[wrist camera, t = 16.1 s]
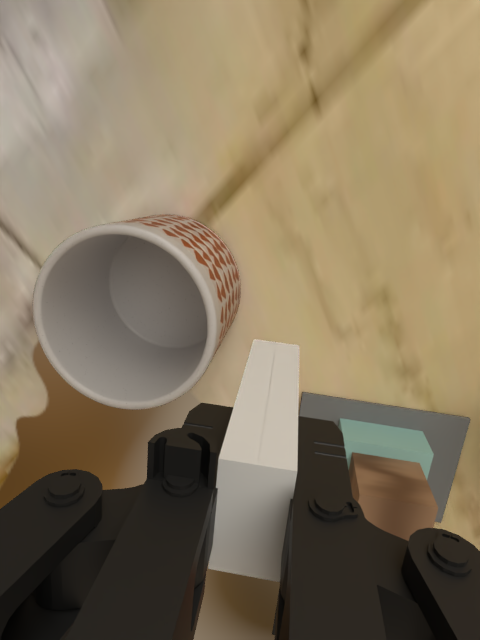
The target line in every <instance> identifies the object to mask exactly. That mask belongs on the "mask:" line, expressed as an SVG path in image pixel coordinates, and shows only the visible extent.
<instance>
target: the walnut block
mask: <svg viewBox="0 0 480 640" xmlns="http://www.w3.org/2000/svg"><path fill="white" fill-rule="evenodd" d="M349 476H350V483H351V489H352V495H353V498H354V499H355V500H356V501H357V502H358V503H359V504H360V506H361V508H362V511H363V513H364V516H365V518H366V519H367V520H368V521H369V522H371V523H372V524H373V525H375V526H376V527H378V528H380V529H382V530H384V531H386V532H388V533H390V534H393V535H395V536H398V537H400V538H402V539H405V540H407V541H409V538H410V535H412V534H413V533H414V532H415V531H416V530H418V529H424V528H433V526H434V522H435V519H436V515H437V511H438V506H437V504H436V501H435V499H434V496H433V494H432V491H431V489H430V487H429V484H428V482H427V479H426V477H425V475H424V472H423V470H422V467H421V465H420V463H417V462H411V461H405V460H398V459H392V458H386V457H380V456H374V455H367V454H361V453H355V452H352V455H351V461H350V466H349Z"/></svg>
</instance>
